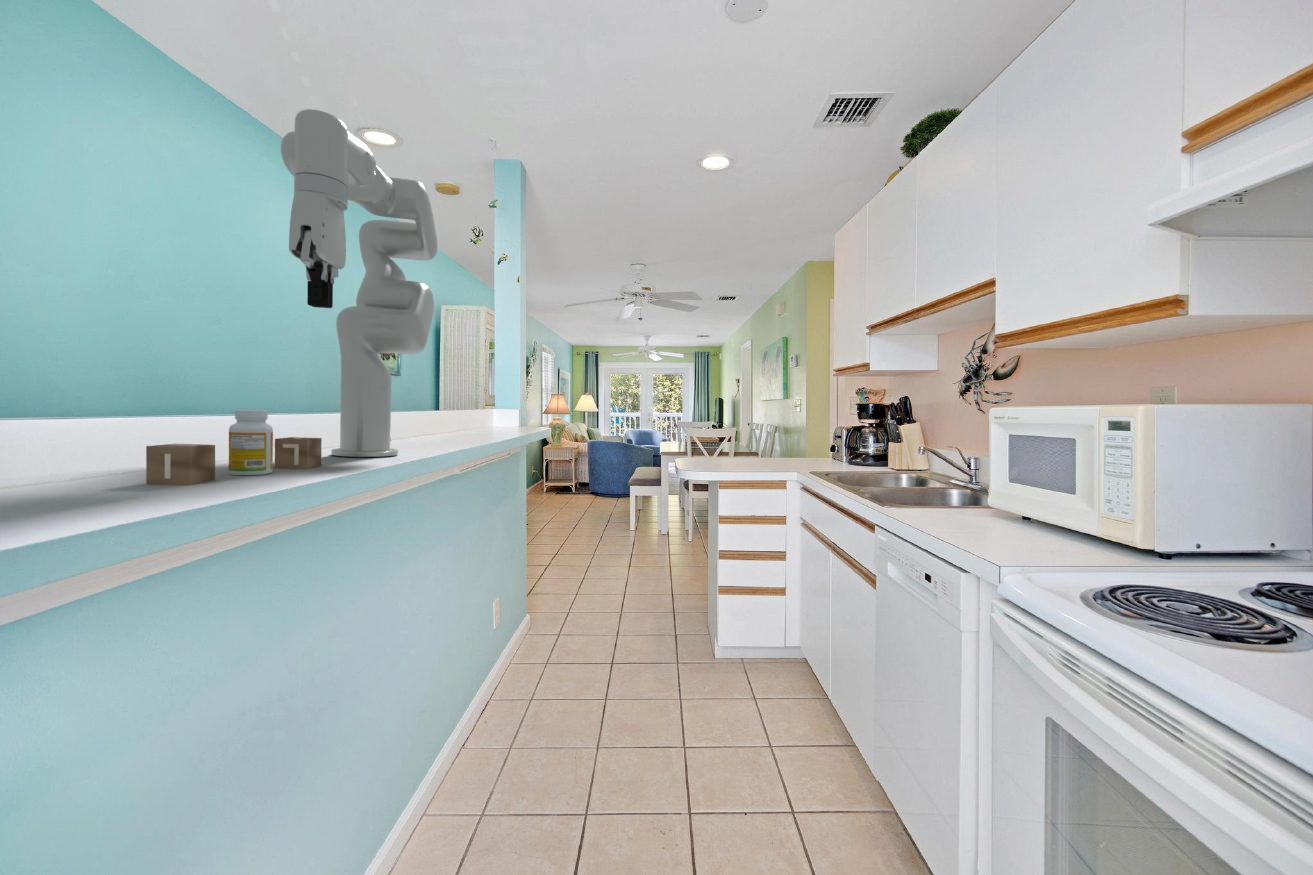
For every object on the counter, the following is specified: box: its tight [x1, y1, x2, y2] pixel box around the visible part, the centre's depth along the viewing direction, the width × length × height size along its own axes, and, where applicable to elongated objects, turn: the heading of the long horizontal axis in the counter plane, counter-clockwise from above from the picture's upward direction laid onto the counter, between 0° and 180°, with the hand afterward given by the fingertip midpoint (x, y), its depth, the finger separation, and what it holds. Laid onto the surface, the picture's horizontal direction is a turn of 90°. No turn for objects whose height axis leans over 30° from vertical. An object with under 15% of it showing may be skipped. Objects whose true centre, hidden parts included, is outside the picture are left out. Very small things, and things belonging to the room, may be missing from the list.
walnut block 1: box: [145, 443, 216, 486], centre depth 73 cm, size 5×5×5 cm
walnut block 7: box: [274, 436, 323, 470], centre depth 93 cm, size 5×5×5 cm
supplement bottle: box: [228, 409, 274, 476], centre depth 83 cm, size 5×5×10 cm
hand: (320, 306), depth 91 cm, fingers closed
